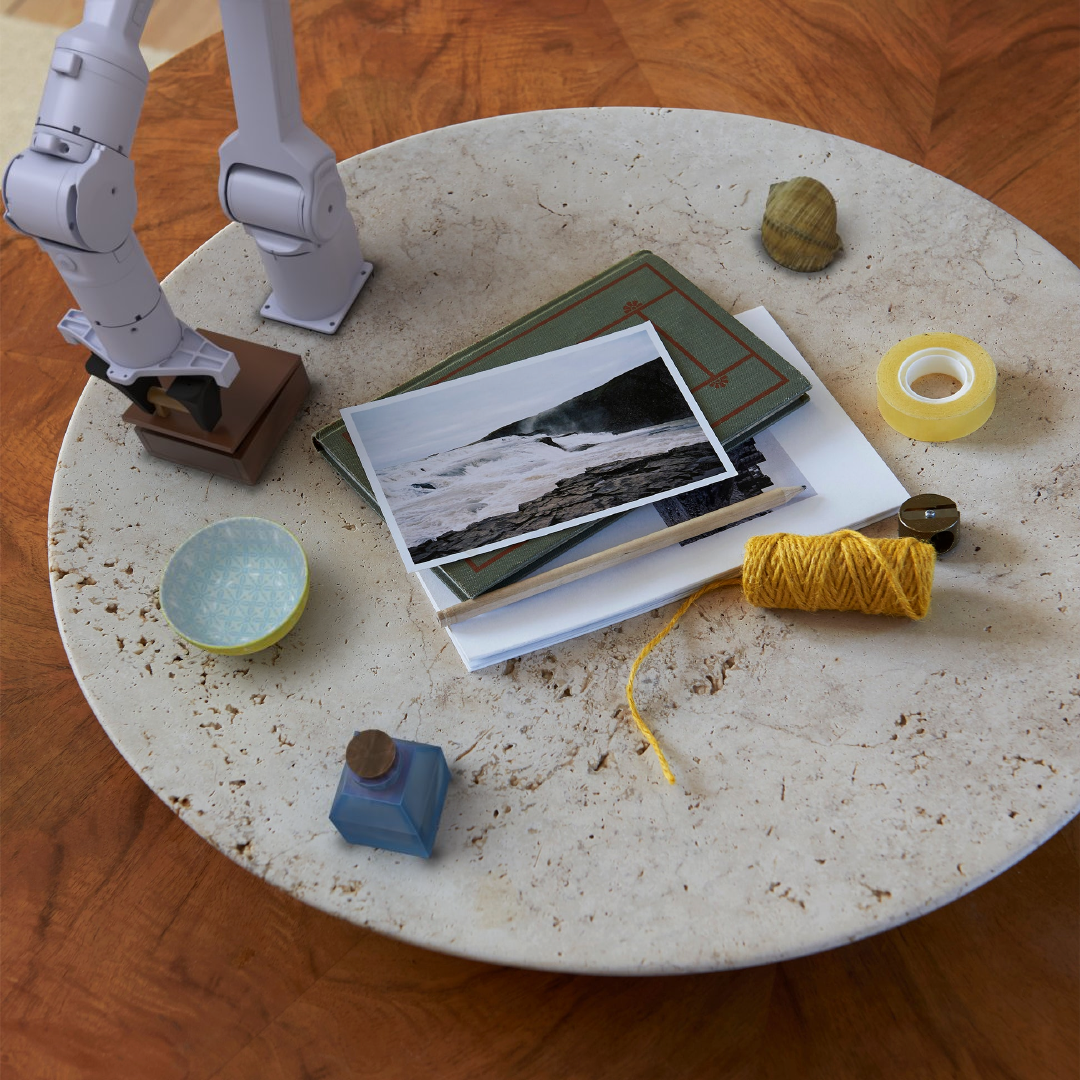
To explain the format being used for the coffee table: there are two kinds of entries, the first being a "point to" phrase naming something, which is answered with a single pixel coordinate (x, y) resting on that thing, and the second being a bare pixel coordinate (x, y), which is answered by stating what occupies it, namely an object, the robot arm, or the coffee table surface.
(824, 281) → the coffee table surface
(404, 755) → the perfume bottle
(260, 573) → the bowl
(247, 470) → the box
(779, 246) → the seashell
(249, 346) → the lid
